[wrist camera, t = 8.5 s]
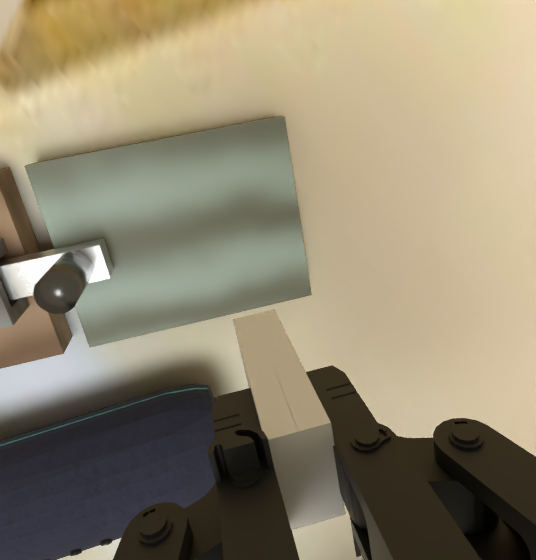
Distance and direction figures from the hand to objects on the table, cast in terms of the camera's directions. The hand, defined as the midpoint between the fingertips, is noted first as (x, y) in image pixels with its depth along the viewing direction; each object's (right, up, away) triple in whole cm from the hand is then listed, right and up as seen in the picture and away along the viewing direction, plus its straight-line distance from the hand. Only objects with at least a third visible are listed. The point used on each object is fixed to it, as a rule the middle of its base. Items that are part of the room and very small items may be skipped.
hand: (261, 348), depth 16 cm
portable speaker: (-16, -12, +25) cm, 32 cm away
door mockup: (-14, +5, +19) cm, 25 cm away
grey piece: (-16, +3, +16) cm, 23 cm away
